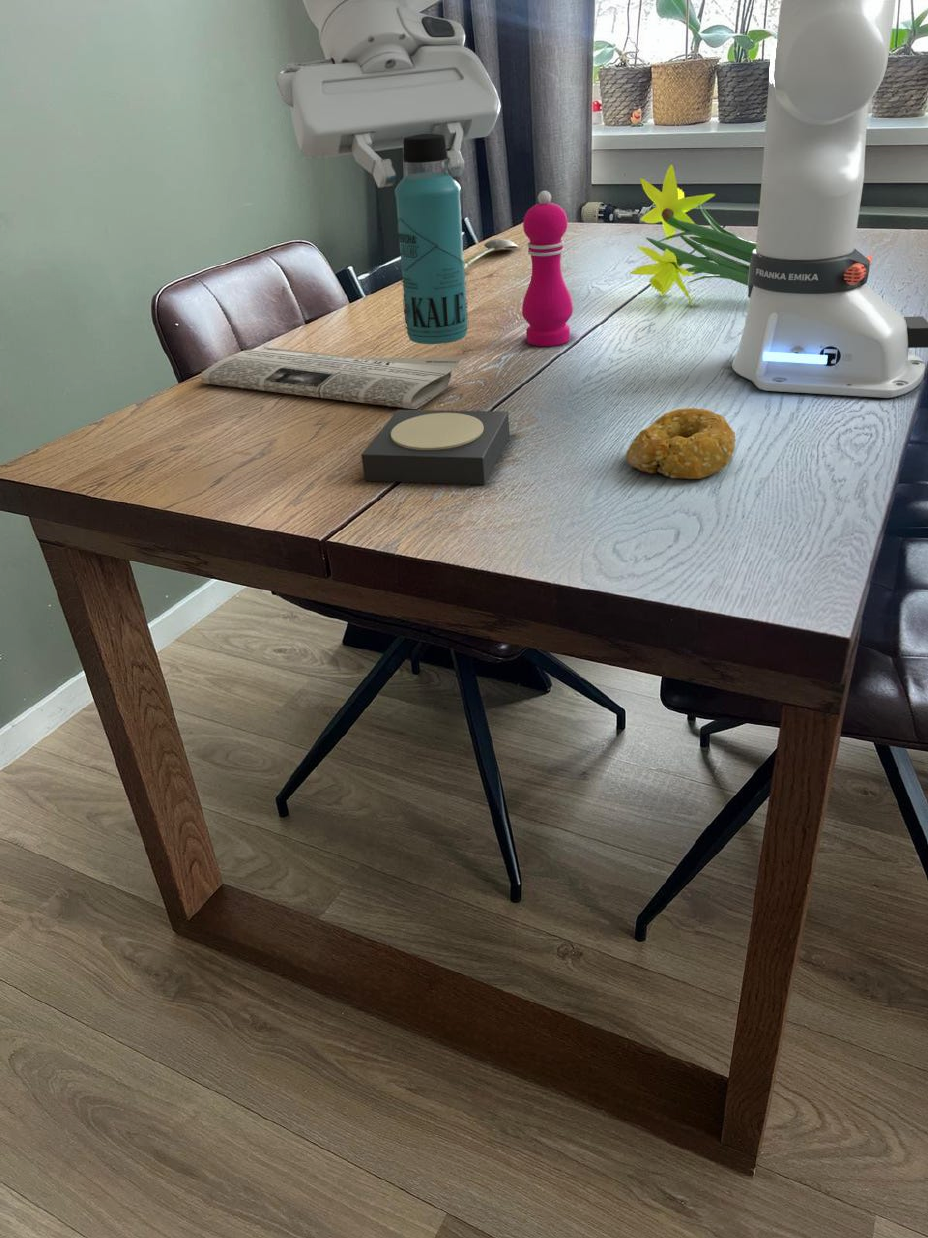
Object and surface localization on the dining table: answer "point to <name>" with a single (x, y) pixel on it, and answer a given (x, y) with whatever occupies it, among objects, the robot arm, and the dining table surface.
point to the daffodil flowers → (689, 241)
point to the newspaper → (336, 376)
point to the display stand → (437, 447)
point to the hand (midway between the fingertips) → (423, 177)
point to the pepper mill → (546, 275)
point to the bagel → (684, 444)
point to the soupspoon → (493, 248)
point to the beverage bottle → (431, 247)
